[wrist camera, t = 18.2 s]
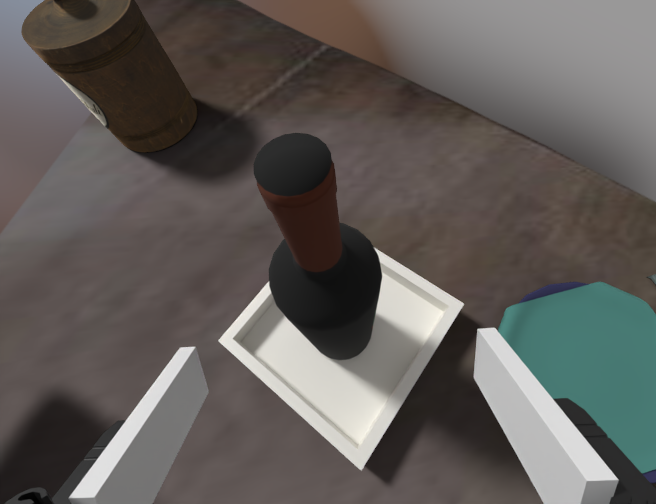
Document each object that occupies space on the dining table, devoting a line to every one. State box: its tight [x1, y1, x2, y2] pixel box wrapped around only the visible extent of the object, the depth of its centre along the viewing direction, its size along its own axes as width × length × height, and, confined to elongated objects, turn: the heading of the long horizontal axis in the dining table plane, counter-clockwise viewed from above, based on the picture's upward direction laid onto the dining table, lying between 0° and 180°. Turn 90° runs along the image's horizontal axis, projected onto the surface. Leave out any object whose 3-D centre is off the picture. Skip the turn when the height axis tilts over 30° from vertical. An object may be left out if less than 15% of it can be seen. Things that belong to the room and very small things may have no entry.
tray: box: [218, 248, 464, 470], centre depth 37 cm, size 20×20×4 cm
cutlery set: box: [498, 274, 656, 483], centre depth 34 cm, size 20×30×2 cm, turn 104°
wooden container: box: [22, 0, 197, 152], centre depth 47 cm, size 15×15×22 cm
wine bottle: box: [254, 133, 382, 360], centre depth 24 cm, size 8×8×30 cm
